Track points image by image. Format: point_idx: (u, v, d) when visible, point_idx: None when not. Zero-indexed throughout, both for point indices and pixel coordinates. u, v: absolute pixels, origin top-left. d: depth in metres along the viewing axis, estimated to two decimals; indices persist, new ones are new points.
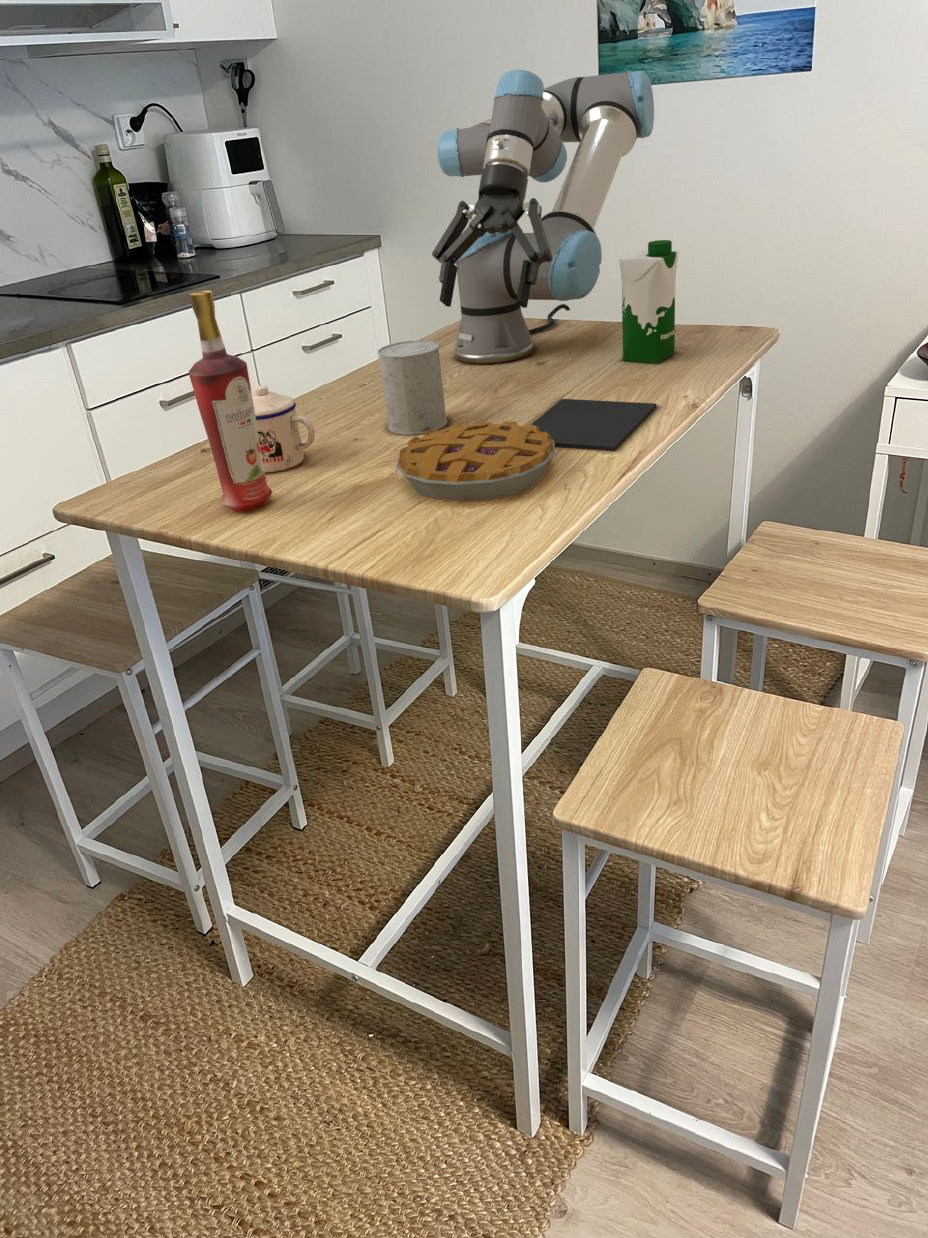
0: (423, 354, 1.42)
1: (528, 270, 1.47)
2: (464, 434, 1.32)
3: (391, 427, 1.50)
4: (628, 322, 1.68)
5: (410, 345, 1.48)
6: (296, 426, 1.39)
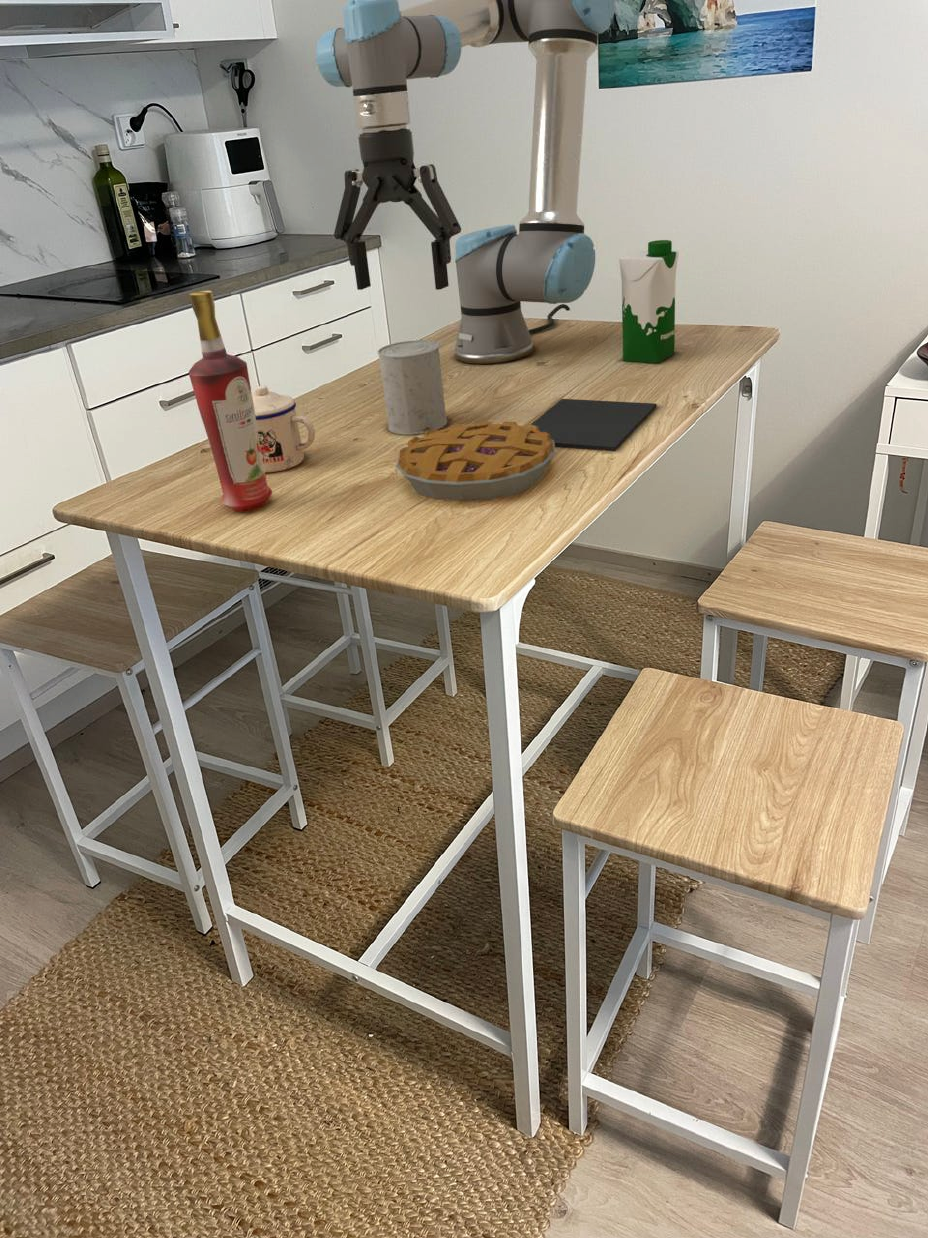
0: (423, 354, 1.42)
1: (439, 251, 1.35)
2: (464, 434, 1.32)
3: (391, 427, 1.50)
4: (628, 322, 1.68)
5: (410, 345, 1.48)
6: (296, 426, 1.39)
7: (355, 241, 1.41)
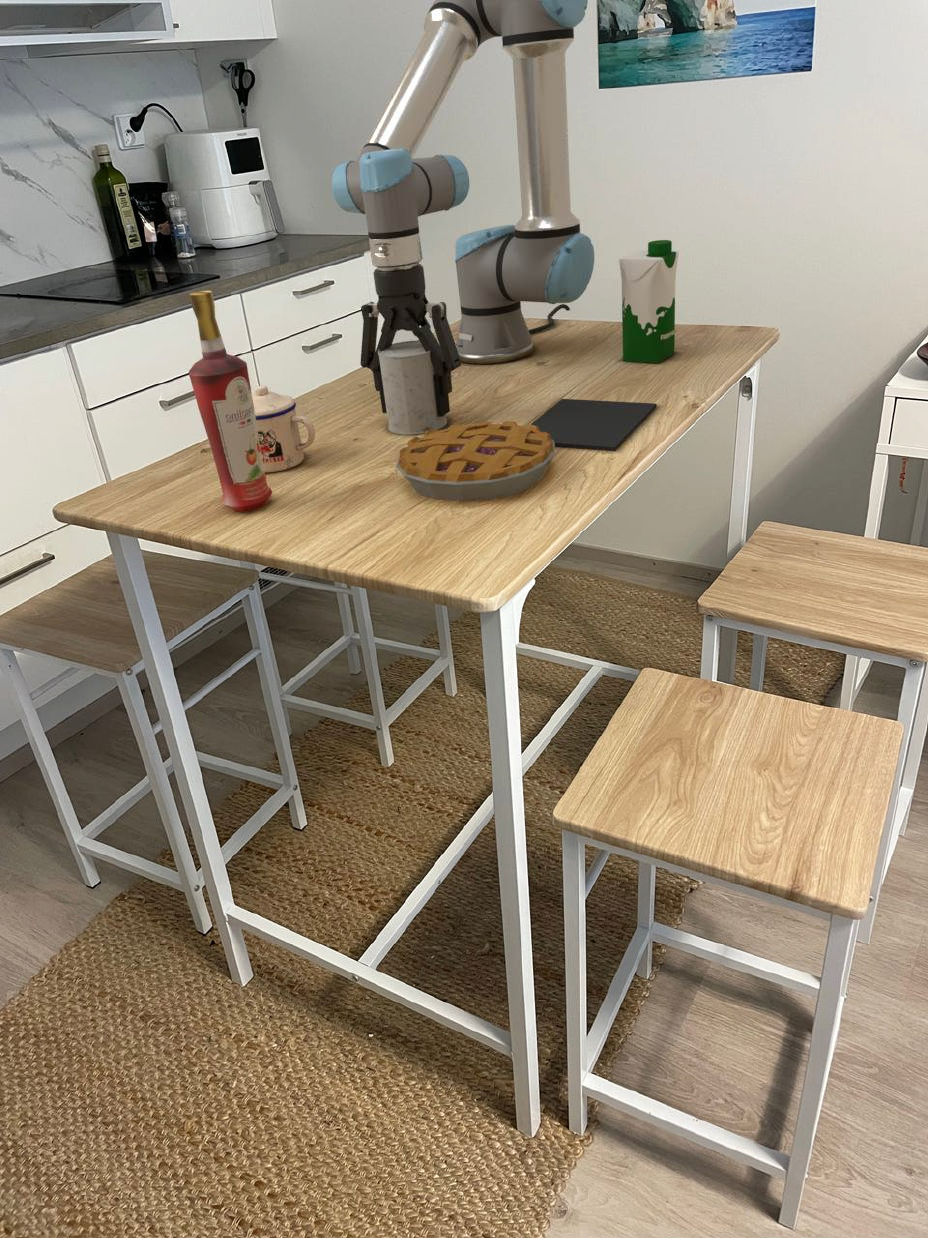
0: (423, 354, 1.42)
1: (441, 383, 1.45)
2: (464, 434, 1.32)
3: (391, 427, 1.50)
4: (628, 322, 1.68)
5: (410, 345, 1.48)
6: (296, 426, 1.39)
7: None
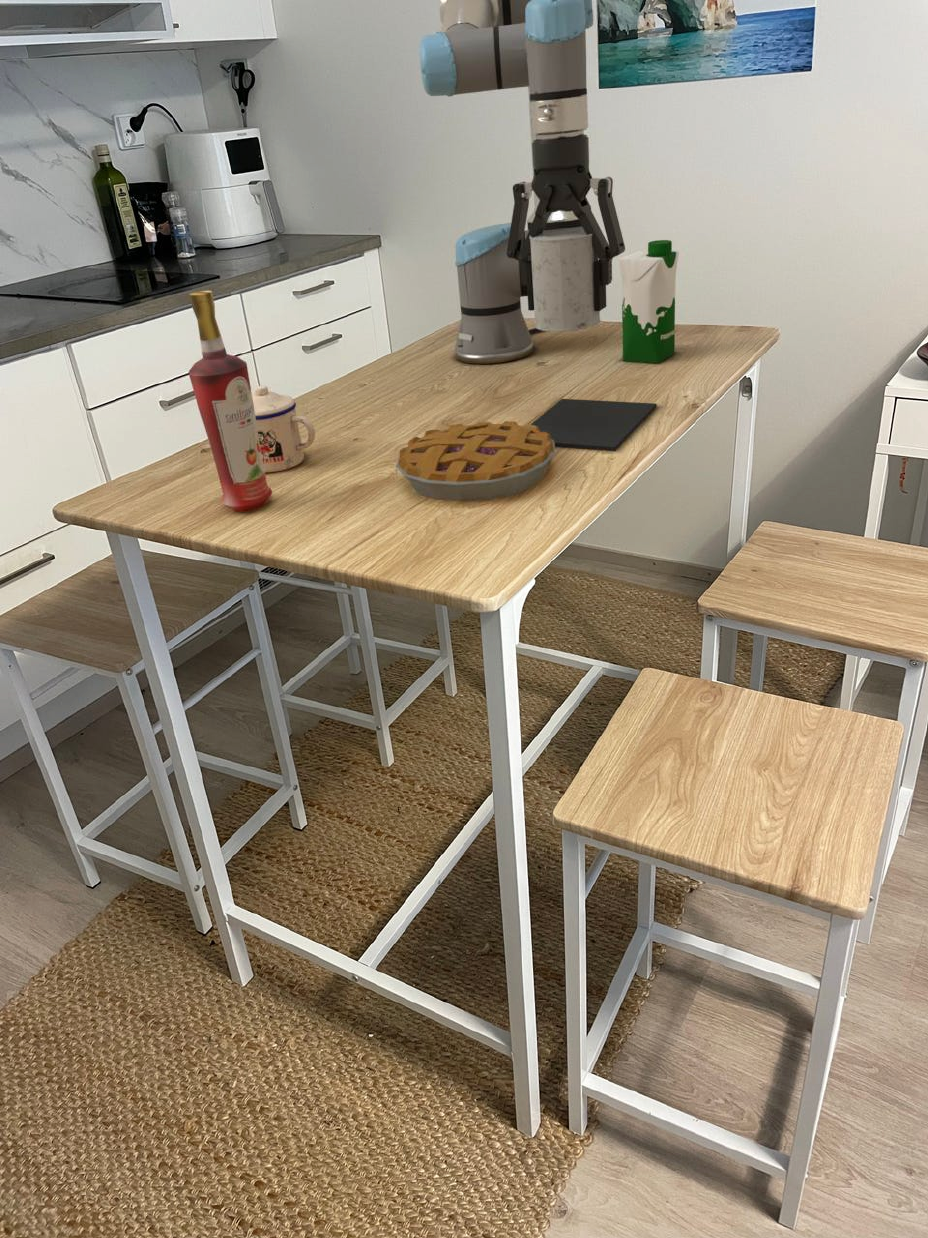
0: (584, 237, 1.27)
1: (601, 272, 1.30)
2: (464, 434, 1.32)
3: (540, 324, 1.35)
4: (628, 322, 1.68)
5: (563, 232, 1.33)
6: (296, 426, 1.39)
7: (529, 259, 1.35)
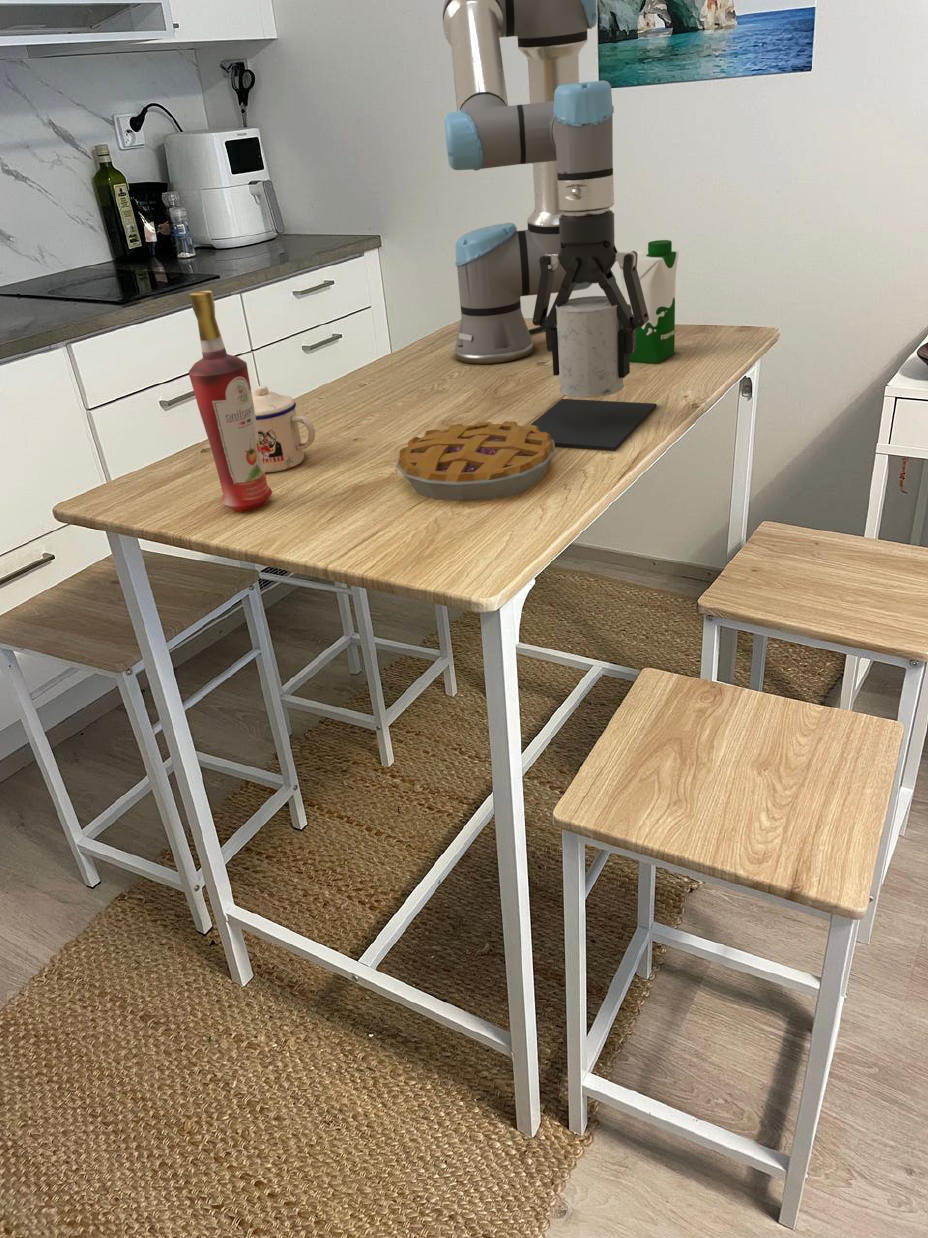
0: (610, 308, 1.31)
1: (625, 341, 1.34)
2: (464, 434, 1.32)
3: (565, 390, 1.38)
4: None
5: (588, 301, 1.37)
6: (296, 426, 1.39)
7: (554, 326, 1.38)
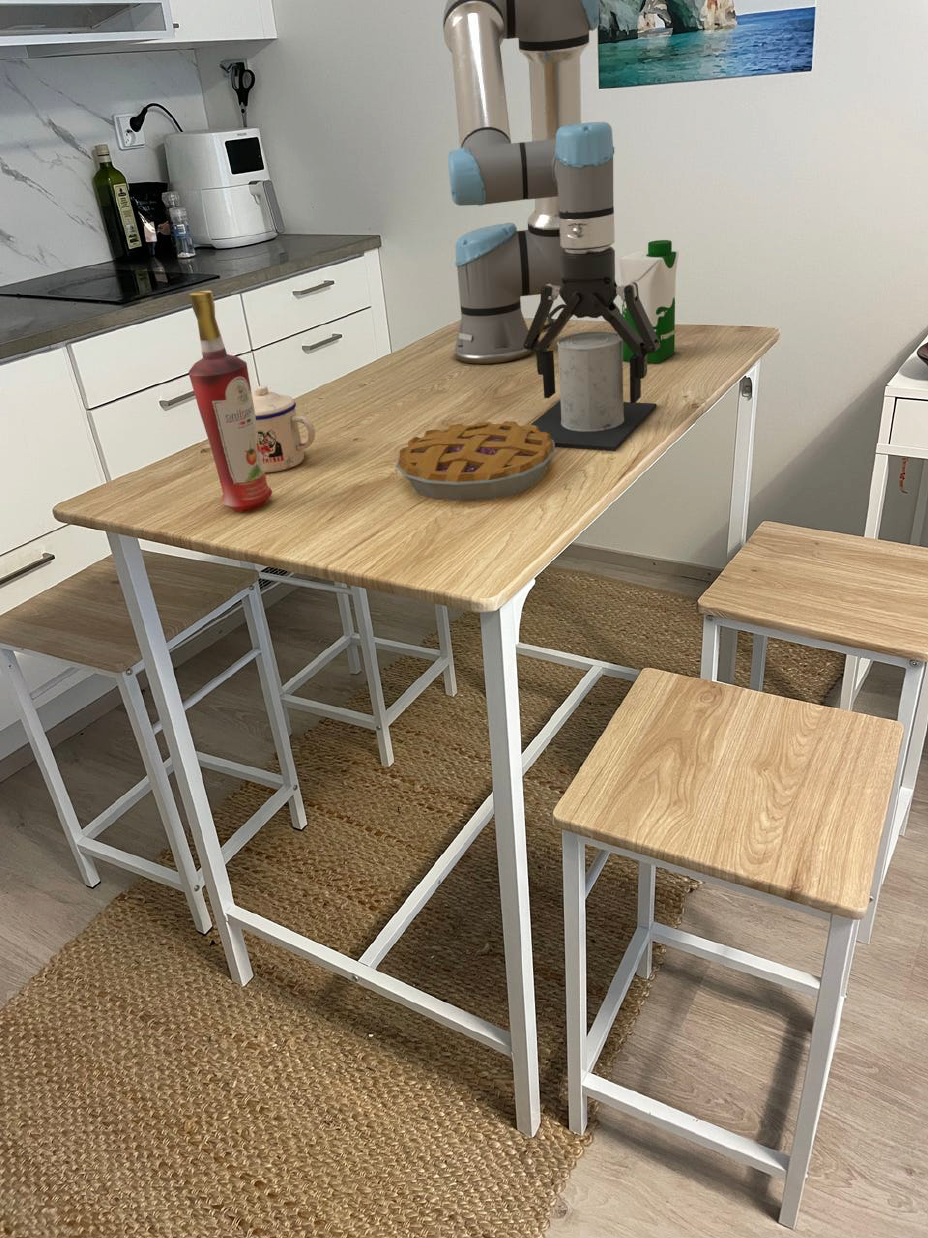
0: (610, 346, 1.34)
1: (637, 366, 1.35)
2: (464, 434, 1.32)
3: (567, 424, 1.41)
4: (628, 322, 1.68)
5: (589, 337, 1.39)
6: (296, 426, 1.39)
7: (545, 351, 1.41)
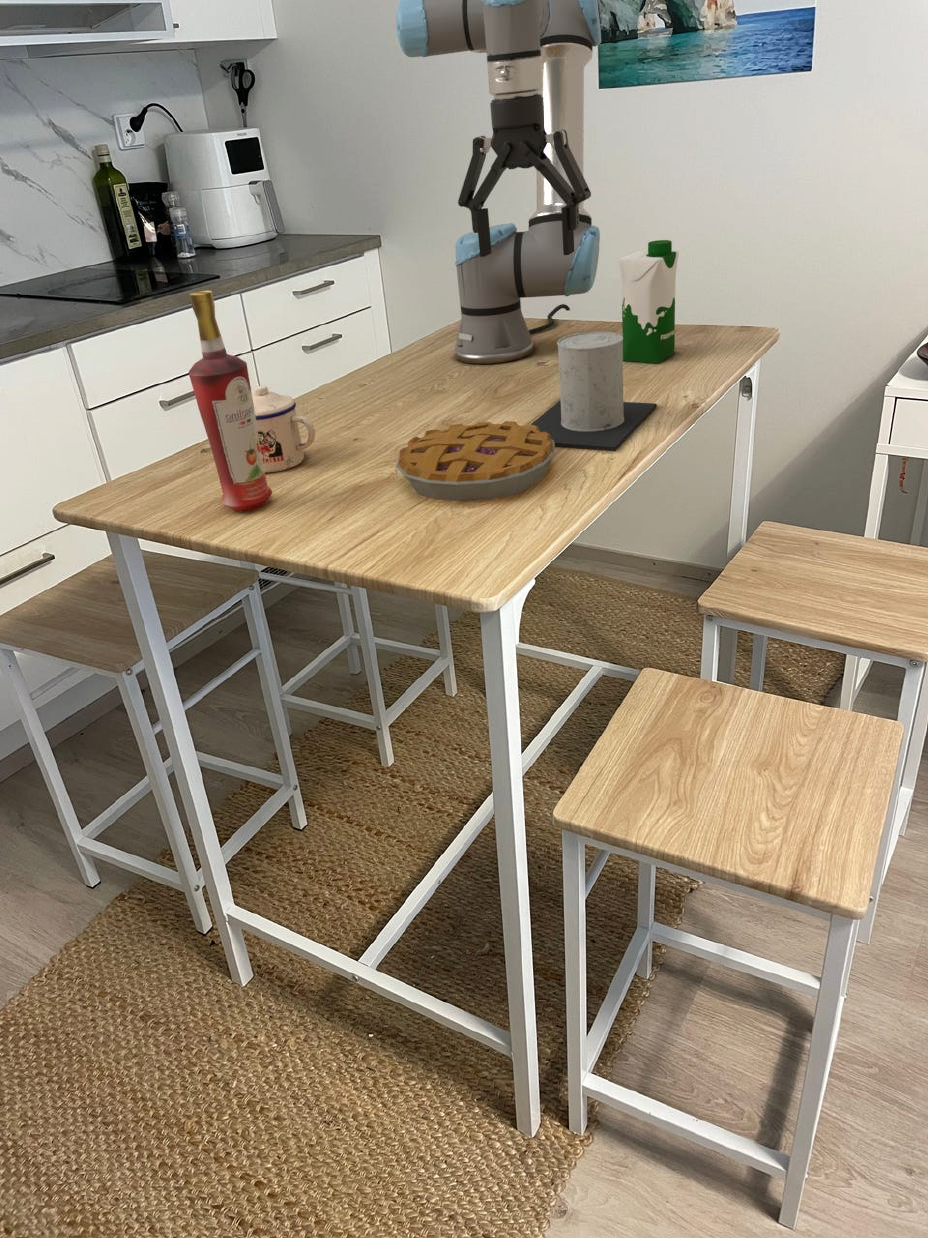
0: (610, 346, 1.34)
1: (569, 217, 1.37)
2: (464, 434, 1.32)
3: (567, 424, 1.41)
4: (628, 322, 1.68)
5: (589, 337, 1.39)
6: (296, 426, 1.39)
7: (479, 208, 1.42)
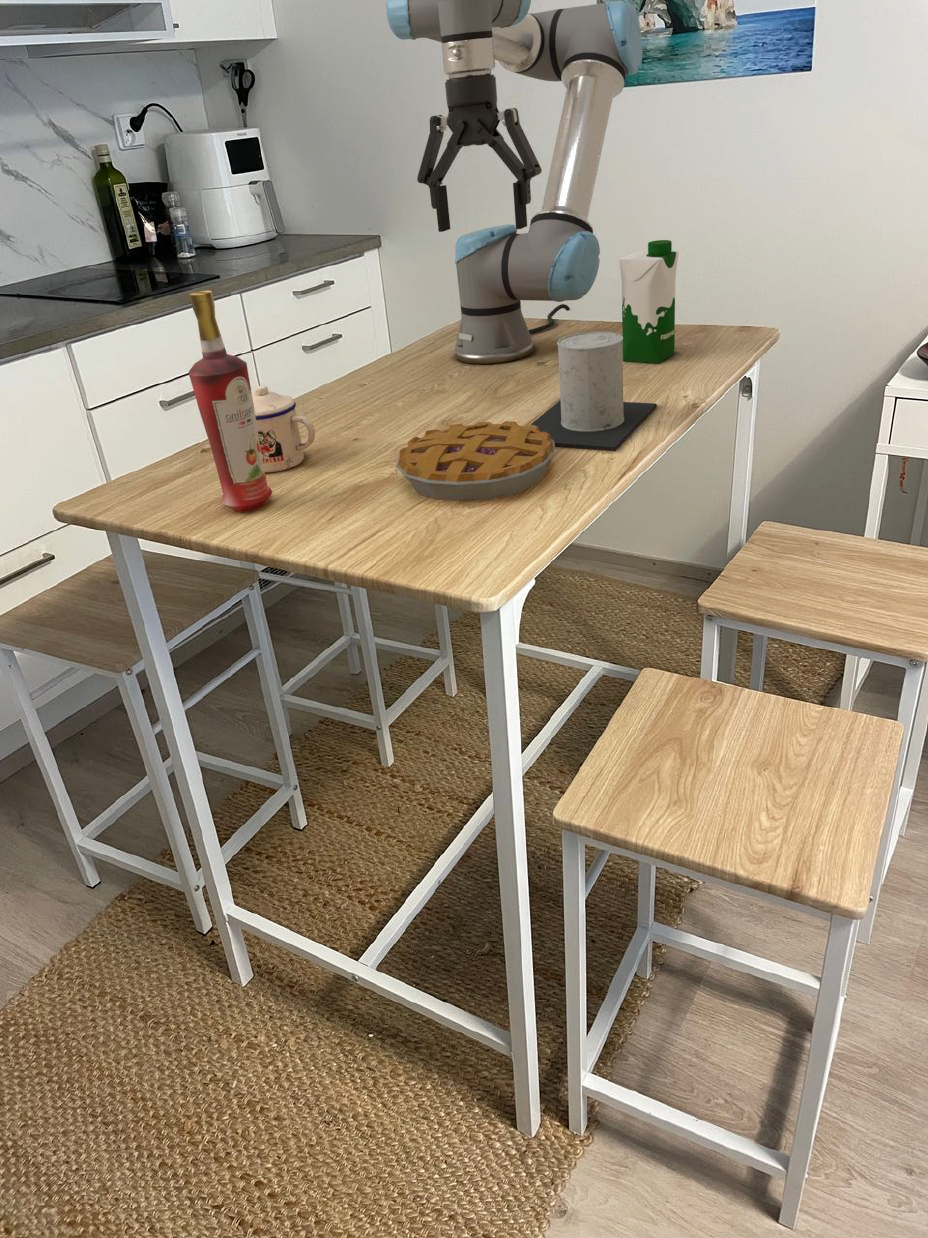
0: (610, 346, 1.34)
1: (520, 192, 1.43)
2: (464, 434, 1.32)
3: (567, 424, 1.41)
4: (628, 322, 1.68)
5: (589, 337, 1.39)
6: (296, 426, 1.39)
7: (437, 185, 1.48)
